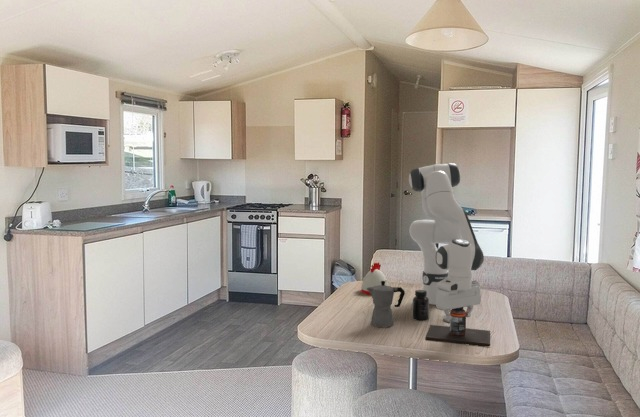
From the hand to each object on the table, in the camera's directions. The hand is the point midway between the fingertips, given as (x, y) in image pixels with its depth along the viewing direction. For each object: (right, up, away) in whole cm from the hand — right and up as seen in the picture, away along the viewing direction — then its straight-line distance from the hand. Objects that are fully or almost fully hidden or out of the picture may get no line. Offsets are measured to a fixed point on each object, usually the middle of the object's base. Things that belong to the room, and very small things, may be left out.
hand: (458, 318), depth 204 cm
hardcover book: (0, -8, +1) cm, 8 cm away
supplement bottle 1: (-10, -5, +24) cm, 26 cm away
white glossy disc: (+4, -5, +22) cm, 23 cm away
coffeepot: (-26, -6, +16) cm, 31 cm away
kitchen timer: (-24, -1, +71) cm, 75 cm away
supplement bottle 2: (0, -6, +1) cm, 6 cm away
